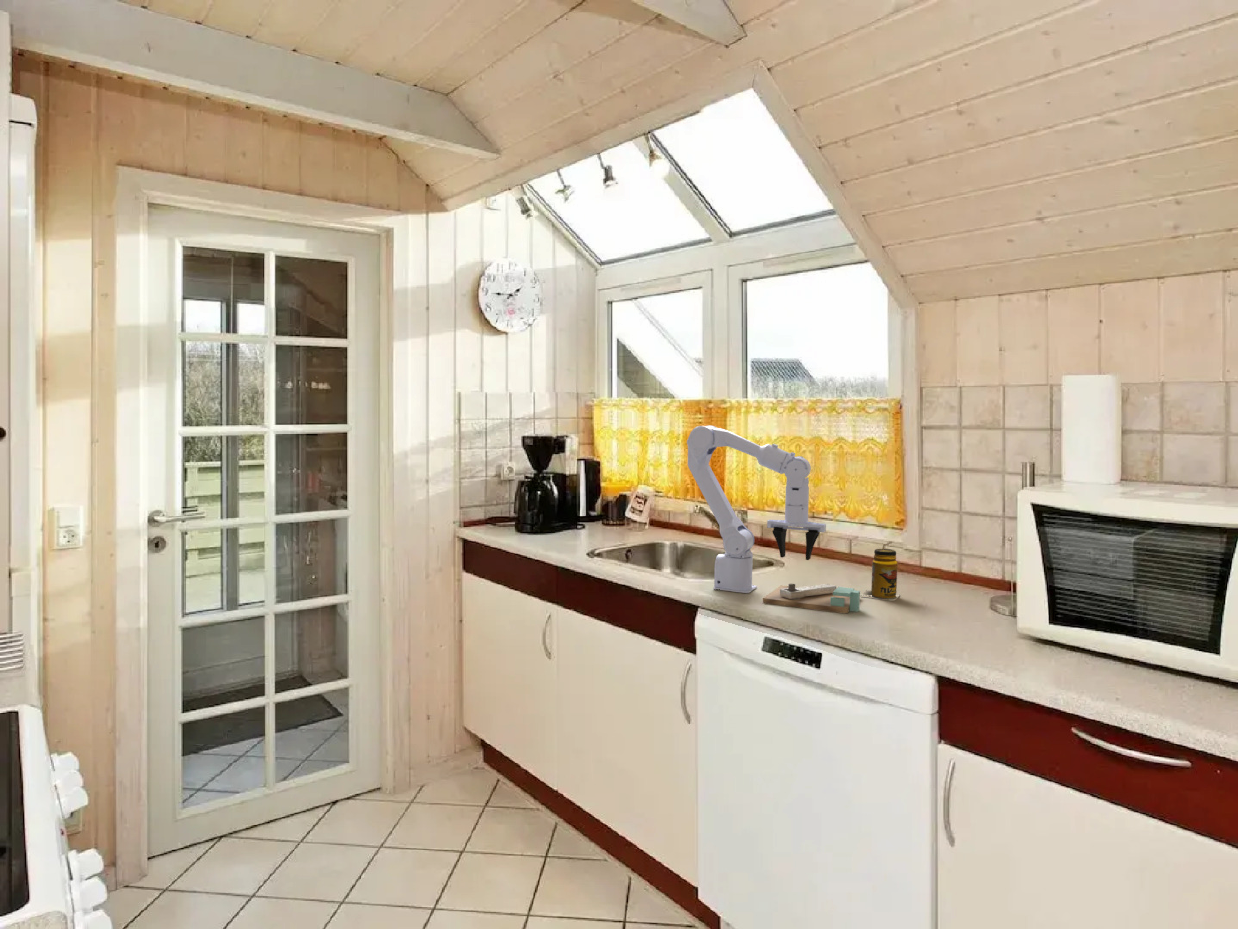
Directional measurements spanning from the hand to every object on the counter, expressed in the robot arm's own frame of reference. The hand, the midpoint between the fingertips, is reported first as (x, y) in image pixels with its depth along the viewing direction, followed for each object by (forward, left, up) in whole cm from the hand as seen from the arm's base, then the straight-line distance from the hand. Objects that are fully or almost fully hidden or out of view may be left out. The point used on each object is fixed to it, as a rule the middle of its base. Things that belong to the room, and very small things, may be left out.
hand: (795, 558), depth 199 cm
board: (+6, -4, -9) cm, 12 cm away
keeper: (+14, -8, -9) cm, 19 cm away
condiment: (+20, +10, -10) cm, 24 cm away
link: (+5, -4, -8) cm, 10 cm away
